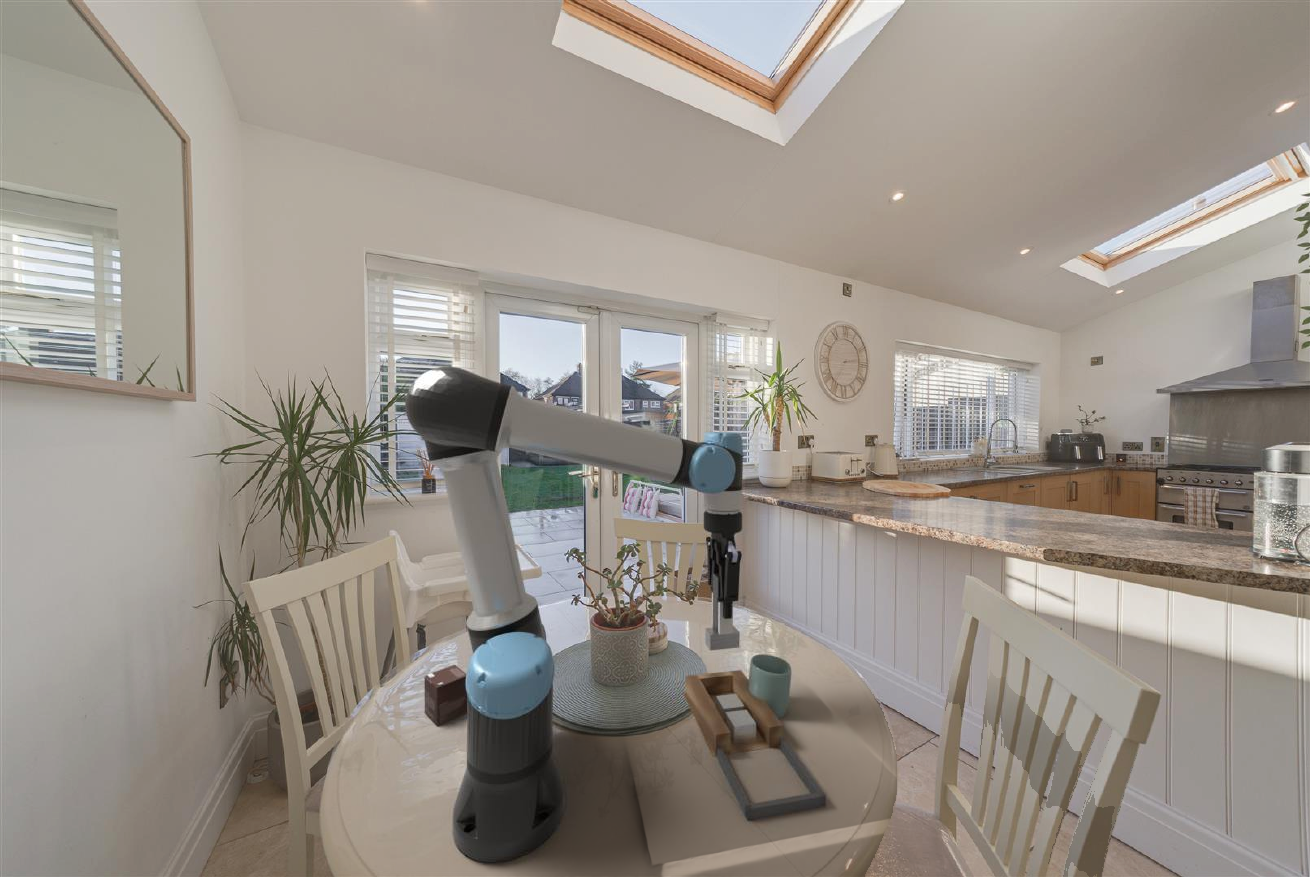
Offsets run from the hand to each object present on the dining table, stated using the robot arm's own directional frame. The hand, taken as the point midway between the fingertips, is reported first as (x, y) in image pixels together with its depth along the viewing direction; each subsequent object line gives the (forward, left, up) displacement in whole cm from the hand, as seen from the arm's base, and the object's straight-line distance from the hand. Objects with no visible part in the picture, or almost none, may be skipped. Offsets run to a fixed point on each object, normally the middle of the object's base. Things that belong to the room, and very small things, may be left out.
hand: (722, 628), depth 88 cm
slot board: (0, -5, -16) cm, 17 cm away
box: (-53, +9, -16) cm, 56 cm away
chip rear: (0, -5, -14) cm, 15 cm away
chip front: (0, -10, -14) cm, 18 cm away
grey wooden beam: (0, 0, -3) cm, 3 cm away
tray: (0, -21, -16) cm, 26 cm away
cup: (+8, -4, -16) cm, 18 cm away
